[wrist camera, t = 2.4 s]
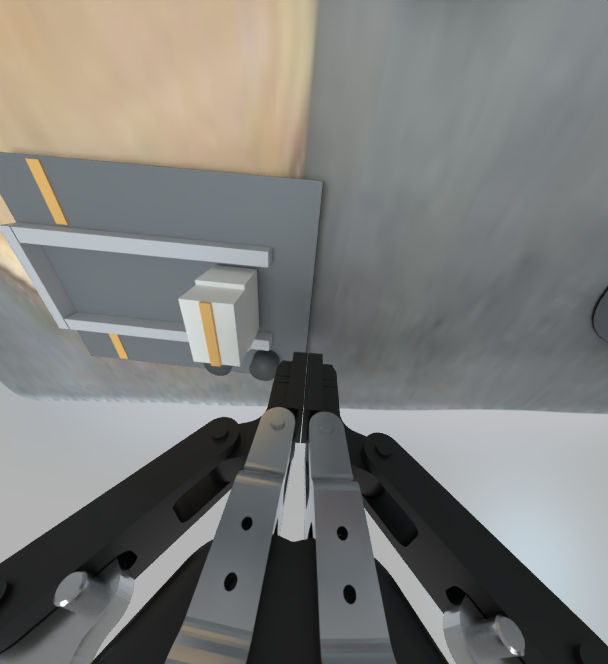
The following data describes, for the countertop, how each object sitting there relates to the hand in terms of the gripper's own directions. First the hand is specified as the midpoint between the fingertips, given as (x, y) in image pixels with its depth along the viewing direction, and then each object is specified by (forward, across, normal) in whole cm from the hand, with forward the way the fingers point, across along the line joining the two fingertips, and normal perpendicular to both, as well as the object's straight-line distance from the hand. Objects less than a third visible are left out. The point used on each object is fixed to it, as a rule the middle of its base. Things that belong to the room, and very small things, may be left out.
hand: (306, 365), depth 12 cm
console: (+9, +10, 0) cm, 14 cm away
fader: (+7, +6, 0) cm, 9 cm away
